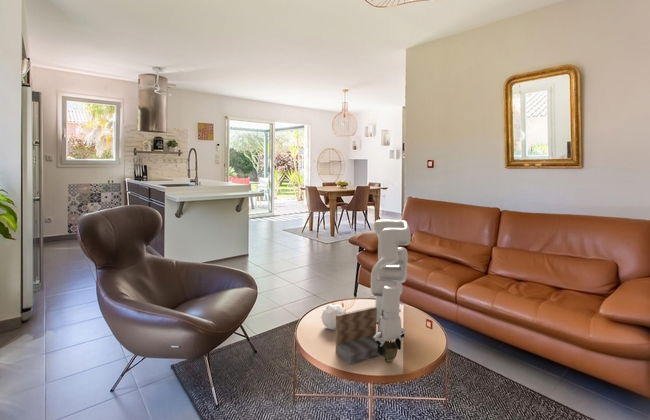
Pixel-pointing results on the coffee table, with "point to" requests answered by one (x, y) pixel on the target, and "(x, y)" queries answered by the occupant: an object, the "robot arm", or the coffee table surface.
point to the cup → (389, 351)
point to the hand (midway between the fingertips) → (389, 351)
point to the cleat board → (357, 335)
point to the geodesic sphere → (331, 315)
